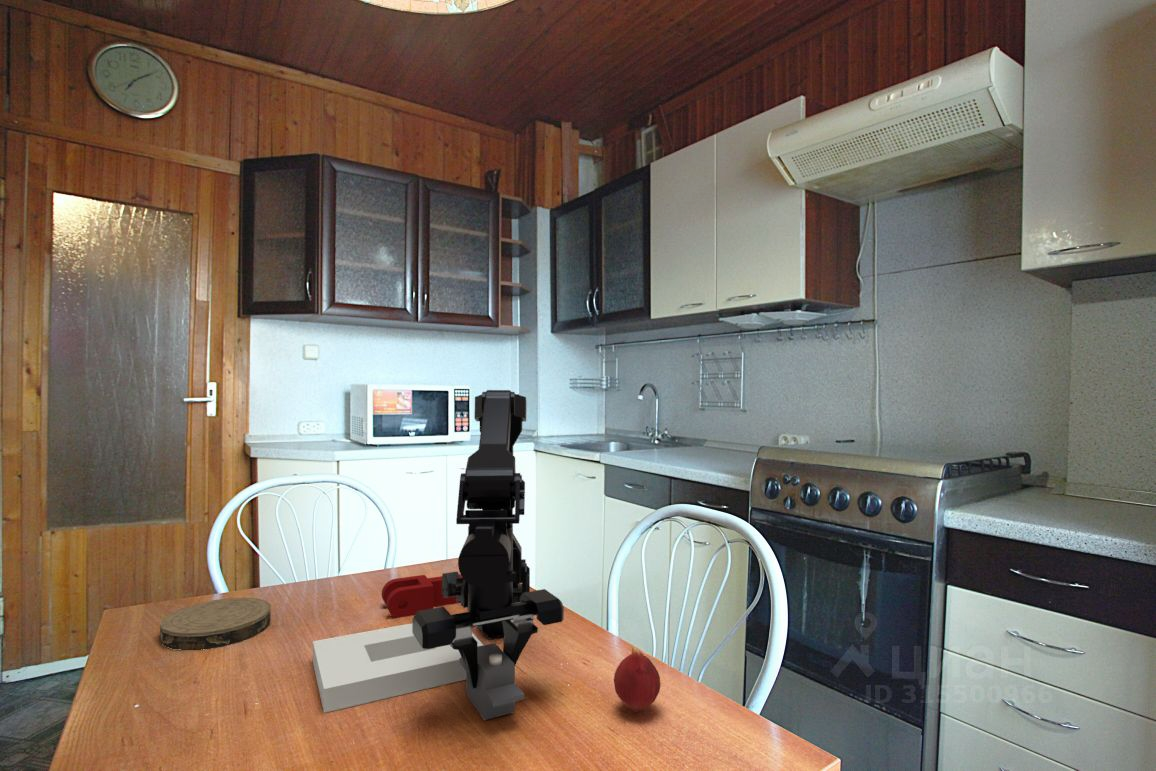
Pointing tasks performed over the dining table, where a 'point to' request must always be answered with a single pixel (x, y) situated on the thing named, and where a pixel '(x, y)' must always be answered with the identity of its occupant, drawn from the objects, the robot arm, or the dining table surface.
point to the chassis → (380, 666)
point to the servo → (493, 683)
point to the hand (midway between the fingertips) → (489, 683)
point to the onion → (637, 681)
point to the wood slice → (215, 623)
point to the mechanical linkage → (414, 595)
